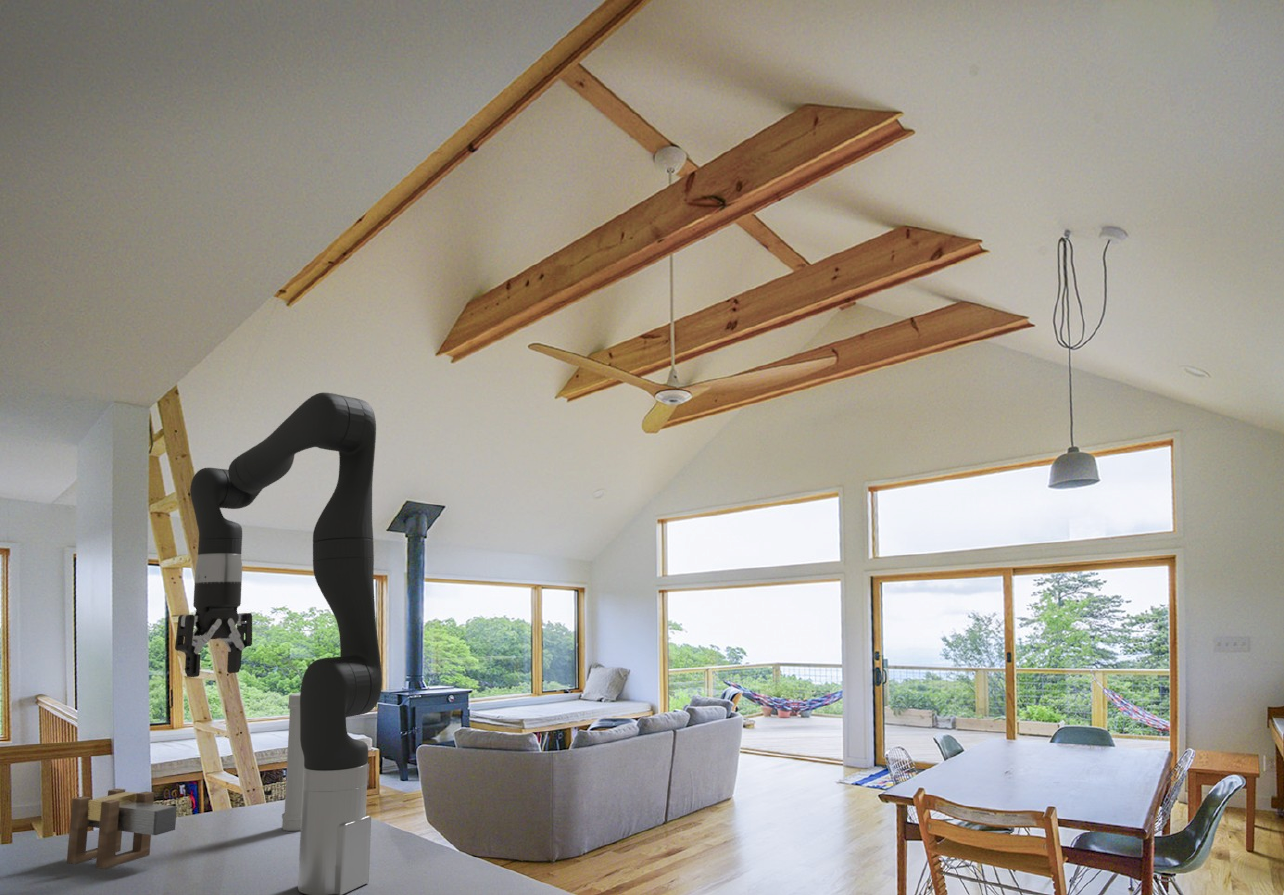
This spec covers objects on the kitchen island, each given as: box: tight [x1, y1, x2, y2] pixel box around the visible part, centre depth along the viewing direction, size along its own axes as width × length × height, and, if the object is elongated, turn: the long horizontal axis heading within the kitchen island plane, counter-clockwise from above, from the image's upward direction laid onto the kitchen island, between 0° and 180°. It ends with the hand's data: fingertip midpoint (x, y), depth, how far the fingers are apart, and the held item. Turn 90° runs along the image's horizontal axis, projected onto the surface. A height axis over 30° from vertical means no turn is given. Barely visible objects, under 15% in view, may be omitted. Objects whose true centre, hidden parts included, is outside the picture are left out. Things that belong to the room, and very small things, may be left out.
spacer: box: [88, 791, 138, 821], centre depth 146 cm, size 3×7×3 cm, turn 158°
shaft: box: [88, 801, 178, 836], centre depth 145 cm, size 18×4×4 cm, turn 68°
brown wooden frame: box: [66, 788, 155, 869], centre depth 146 cm, size 9×8×10 cm
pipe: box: [281, 662, 304, 832], centre depth 165 cm, size 6×6×30 cm
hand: (213, 674), depth 152 cm, fingers open, 8 cm apart
